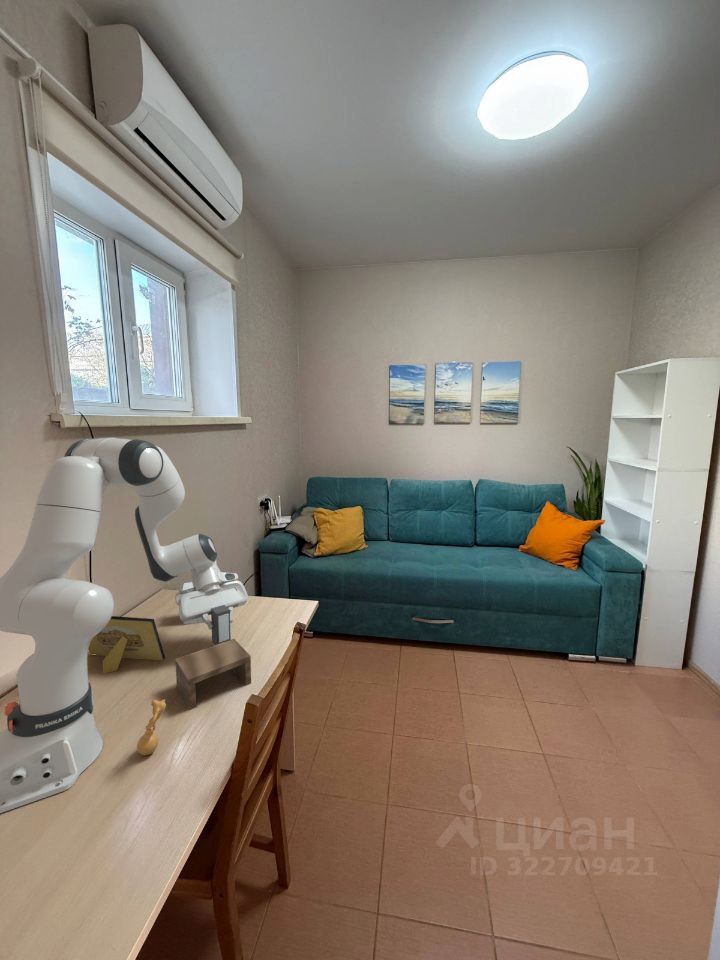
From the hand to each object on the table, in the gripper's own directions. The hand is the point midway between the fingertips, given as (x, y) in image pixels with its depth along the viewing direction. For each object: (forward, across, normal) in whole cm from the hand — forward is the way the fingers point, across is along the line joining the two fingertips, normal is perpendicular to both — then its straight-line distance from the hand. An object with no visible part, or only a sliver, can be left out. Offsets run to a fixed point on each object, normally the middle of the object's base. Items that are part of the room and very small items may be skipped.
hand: (221, 625), depth 118 cm
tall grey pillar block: (+4, 0, +4) cm, 6 cm away
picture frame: (-3, -25, +18) cm, 30 cm away
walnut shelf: (+15, -7, -2) cm, 17 cm away
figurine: (+25, -25, -11) cm, 37 cm away
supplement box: (-13, +1, +27) cm, 30 cm away
